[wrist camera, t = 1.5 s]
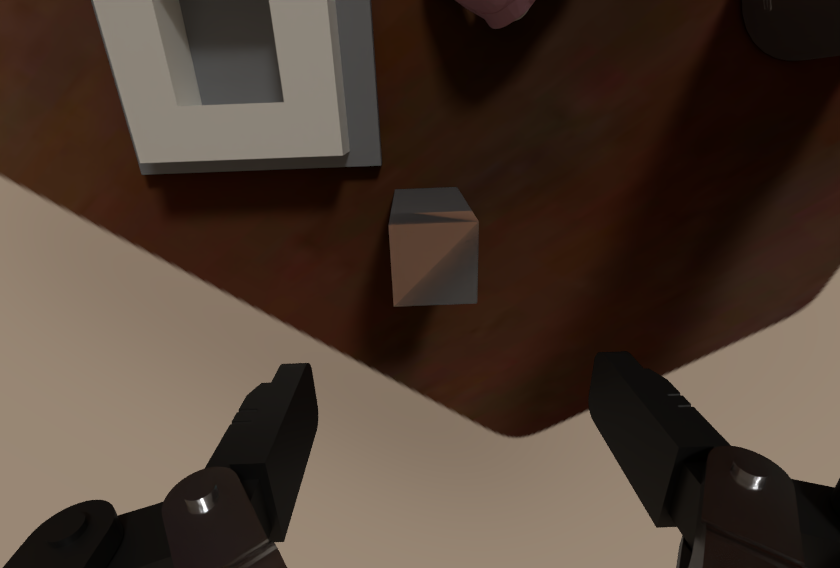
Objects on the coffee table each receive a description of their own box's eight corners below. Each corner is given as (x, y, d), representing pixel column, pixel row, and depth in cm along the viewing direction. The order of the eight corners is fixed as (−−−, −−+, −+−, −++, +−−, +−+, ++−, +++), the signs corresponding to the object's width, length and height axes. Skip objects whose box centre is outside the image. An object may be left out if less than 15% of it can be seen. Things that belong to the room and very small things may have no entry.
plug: (456, 187, 29) (478, 221, 20) (456, 246, 31) (477, 303, 22) (395, 189, 29) (388, 225, 20) (398, 248, 31) (393, 306, 22)
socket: (364, -95, 23) (355, -134, 19) (381, 163, 28) (377, 171, 25) (78, -85, 23) (13, -123, 19) (150, 172, 28) (111, 181, 25)
